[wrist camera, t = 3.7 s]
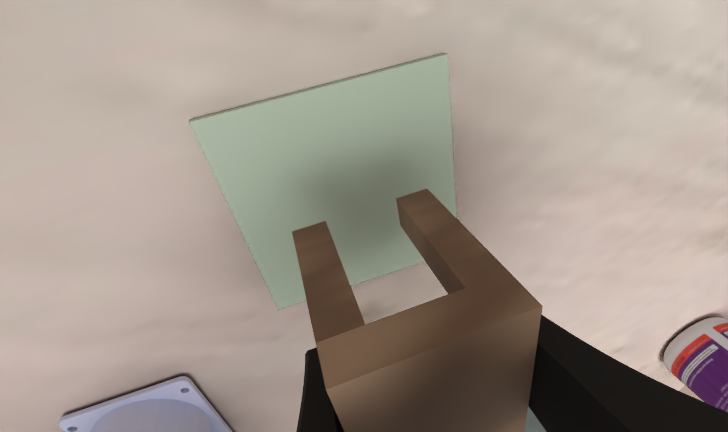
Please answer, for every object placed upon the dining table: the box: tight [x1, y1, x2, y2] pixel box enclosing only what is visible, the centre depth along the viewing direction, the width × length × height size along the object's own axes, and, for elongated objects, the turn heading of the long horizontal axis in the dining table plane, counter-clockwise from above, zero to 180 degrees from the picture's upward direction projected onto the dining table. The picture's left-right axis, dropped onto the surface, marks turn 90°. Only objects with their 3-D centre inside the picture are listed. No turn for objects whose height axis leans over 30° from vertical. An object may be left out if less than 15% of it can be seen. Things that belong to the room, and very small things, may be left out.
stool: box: [292, 189, 542, 432], centre depth 12 cm, size 5×7×6 cm
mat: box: [189, 53, 457, 310], centre depth 19 cm, size 12×12×1 cm
